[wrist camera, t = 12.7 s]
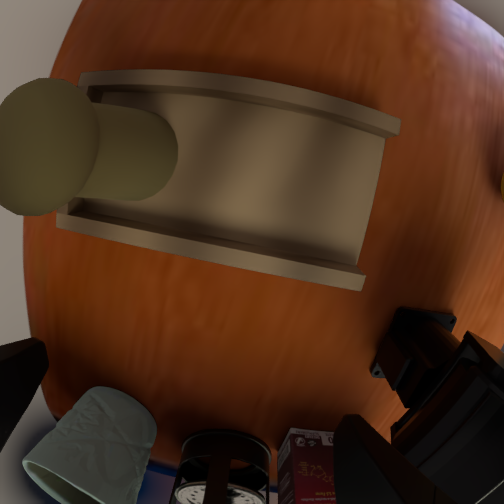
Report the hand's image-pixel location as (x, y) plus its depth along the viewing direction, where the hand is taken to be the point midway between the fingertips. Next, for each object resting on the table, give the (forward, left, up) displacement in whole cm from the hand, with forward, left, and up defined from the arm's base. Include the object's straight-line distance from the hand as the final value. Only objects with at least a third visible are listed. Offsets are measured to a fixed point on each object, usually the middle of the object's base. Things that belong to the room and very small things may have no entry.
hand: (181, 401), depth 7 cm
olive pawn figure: (+7, -6, -12) cm, 15 cm away
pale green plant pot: (+9, +19, -13) cm, 25 cm away
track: (+2, -6, -13) cm, 14 cm away
